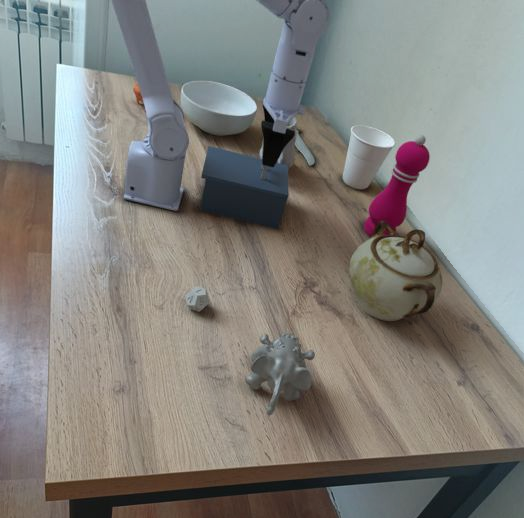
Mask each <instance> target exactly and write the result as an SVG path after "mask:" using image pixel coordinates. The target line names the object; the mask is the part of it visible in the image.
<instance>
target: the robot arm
mask: <svg viewBox="0 0 524 518" xmlns="http://www.w3.org/2000/svg"><path fill="white" fill-rule="evenodd" d="M110 1H111V4H112V7H113V10H114V14H115V16H116V20H117V23H118V25H119V26H118V27H119V28H120V32H121V36H122V38H123V41H124V44H125V47H126V51H127V53H128V56H129V57H128V58H129V60H130V63H131V66H132V69H133V73H134V75H135V79H136V81H137V82H136V83H138V85H139V88H140V91H141V94H142V98H143V101H144V103H143V105H144V109H145V117H146V123H147V129H148V130H147V131H148V133H147V134H146V135H145V138H144V139H143V140H142V141H141V140H140V141H139V140H132V141H131V143H130V145H129V149H128V155H127V161H126V170H125V183H124V194H123V199H124V200H127V201H130V202H134V203H139V204H143V205H148V206H153V207H157V208H161V209H166V210H169V211H174V212H177V211H179V209H180V204H181V200H182V198H183V194H184V191H185V190H184V187H182V180H183V174H184V167H185V160H186V154H187V151H188V148H189V144H190V137H189V134H188V131H187V128H186V124H185V114H184V112H183V110H182V106H181V105H180V104H179V103H178V102H177V101H176V99H175V98H174V96H173V92H172V88H171V86H170V83H169V80H168V77H167V72H166V69H165V65H164V61H163V57H162V55H161V51H160V48H159V43H158V39H157V37H156V33H155V30H154V25H153V22H152V19H151V16H150V12H149V7H148V4H147V1H146V0H110ZM255 1H256V2H258V3H259V5H261V6H263V7H264V8H265V9H267V10H268V11H269V12H270V13H272V14H273V15H274V16H275V17H277V18H279V19H282V20H284V21H283V25H282V29H281V34H280V37H279V40H278V44H277V48H276V52H275V55H274V56H275V57H274V59H273V60H274V61H273V65H272V68H271V73H270V78H269V82H268V85H267V90H266V94H265V96H264V97H263V101H262V110H263V116H264V117H263V118H264V120H261V121H260V122H261V124H260V128H261V133H262V144H263V154H262V165H265V166H269V167H274V166H275V165H276V163H277V161H278V159H279V157H280V155H281V153H282V151H283V149H284V148H285V146H286V145H287V144H288V143H289V142H290V141H291V140H292V139H293V137H294V136H295V131H293V130H289V129H286V128H287V125H288V122H290V121H291V120H292V119H293V118H294V117H295V118H296V116H298V115H300V116H304V115H305V114H306V108H305V107H304V106H302V105H300V104H301V101H302V97H303V94H304V91H305V87H306V84H307V80H308V77H309V73H310V69H311V66H312V63H313V59H314V56H315V52H316V47H317V43H318V40H319V38H320V37H322V36H323V35H324V33H325V32H327V30H328V28H329V25H330V20H329V15H330V12H329V7H328V4H327V1H326V0H255Z"/></svg>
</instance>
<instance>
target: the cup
mask: <svg viewBox="0 0 524 518" xmlns="http://www.w3.org/2000/svg"><path fill="white" fill-rule="evenodd" d="M395 146H396V140H395V139H394V138H393V137H392V136H391V135H390V134H389V133H387V132H385V131H383V130H382V129H381V130H380V129H379V128H376V127H372V126H369V125H363V124H356V125H352V127H351V128H350V137H349V141H348V148H347V152H346V158H345V162H344V167H343V172H342V178H341V179H342V181H343V182H344V183H345V184H346V185H347V186H348V187H350V188H352V189H356V190H366V189H367V188H369V186H370V185H371V183H372V181H373V180H374V178H375V177H376V175H377V173H378V172H379V170H380V168H381V167H382V165H383V164H384V162H385V160H386V159H387V158H388V155H389V154H390V152H391V151H392V149H393V148H395Z"/></svg>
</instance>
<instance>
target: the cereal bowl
mask: <svg viewBox="0 0 524 518" xmlns="http://www.w3.org/2000/svg"><path fill="white" fill-rule="evenodd" d="M180 107H181V109H182V111H183V114H184V117H186V118H187V119H188V121H190V122H191V123H192V124H193V125H195V126H196V127H198V128H199V129H200V130H202V131H203V132H205V133H207V134H208V135H209V134H210V135H214V136H221V137H224V136H229V135H231V136H232V135H237V134H240V133H243V132H244V131H246V130H247V129H249V128H250V127H251V125H252V124H253V122H254V120H255V117H256V115H257V111H258V105H257V103H256V101H255V100H254V99H253V98H252V97H251V96H249V94H247V93H245V92H244V91H242V90H240V89H238V88H236V87H233V86H231V85H227V84H226V83H225V84H224V83H221V82H217V81H210V80H192V81H189V82H185V83H184V84H183V85H182V87H181V90H180Z"/></svg>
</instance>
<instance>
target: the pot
mask: <svg viewBox="0 0 524 518" xmlns="http://www.w3.org/2000/svg"><path fill="white" fill-rule="evenodd" d="M132 90H133V93H134V95H135V100H136V103H137V104H140V103H142V104H144V101H143V98H142V94H141V91H140V88H139V85H138V82H136V83H135V85H134V86H133V89H132Z"/></svg>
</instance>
